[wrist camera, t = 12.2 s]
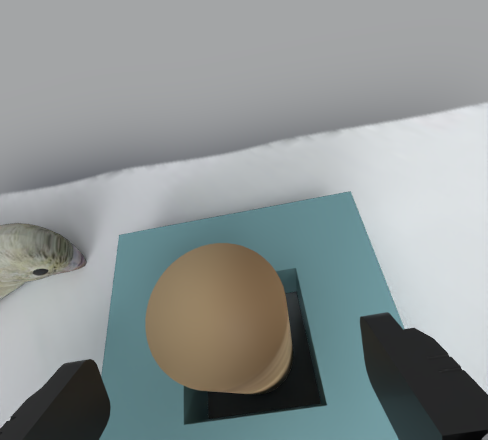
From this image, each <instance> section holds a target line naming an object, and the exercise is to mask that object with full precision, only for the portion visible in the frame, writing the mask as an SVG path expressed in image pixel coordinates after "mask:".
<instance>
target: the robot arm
mask: <svg viewBox="0 0 488 440" xmlns="http://www.w3.org/2000/svg"><path fill="white" fill-rule="evenodd" d="M360 329H361V337H362V345H363V353H364V361H365V367H366V371H367V374H368V377H369V380H370V383H371V385H372V388H373V390H374V392H375V394H376V396H377V398H378V400H379V402H380V403H381V405H382V407H383V409H384V411H385V413H386V415H387V417H388V419H389V421H390V423H391V425H392V427H393V429H394V431H395V433H396V435H397V437H398V439H399V440H488V395H487V394H486V392H485V391H484V390H483V389H482V388H481V387H480V386H479V385H478V384H477V383H476V382H475V381H474V380H473V379H472V378H471V377H470V376H469V375H468V374H467V373H466V372H465V371H464V370H462V369H461V366H460V365H459V364H458V363H457V362H456V361H455V360H454V359H453V358H452V357H449V355H448V353H447V352H446V351H445V350H444V349H443V348H442V347H441V346H440V345H439V344H438V343H437V342H436V341H435V339H433V338H432V337H430V336H428V335H426V334H424V333H423V332H421V331H419V330H417V329H415V328H410V329H403V328H402V327H401V326H400V325H399V324H398V322H397V321H396V320H395V319H394V318H393V317H392V315H391V314H390V313H388V312H385V313H379V314H373V315H367V316H361V317H360ZM110 410H111V406H110V400H109V397H108V394H107V391H106V388H105V386H104V383H103V380H102V378H101V375H100V372H99V369H98V367H97V364H96V363H95V361H94V360H91V359H89V360H82V361H76V362H70V363H65V364H63V365H62V366H61V367H60V368H59V369H58V370H57V371H56V372H55V374H54V375H53V376H52V377H51V378H50V379H49V380H48V382H47V383H46V384H45V385H44V386H43V387H42V388H41V389H40V390H38V391H37V392H36V393H35V394H33V395H32V396H31V397H30V398H28V399H27V400H26V401H25V402H24V403H23V404H22V405H21V406H20V408H19V409H18V410H17V411H16V412H15V413H14V414H13V415H12V416H11V419H10V421H7V422H6V423H5V424H4V425H3V426H2V428H1V429H0V440H99V439H100V437H101V435H102V433H103V431H104V429H105V428H106V426H107V423H108V421H109V417H110Z"/></svg>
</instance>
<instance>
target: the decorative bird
mask: <svg viewBox="0 0 488 440" xmlns="http://www.w3.org/2000/svg"><path fill="white" fill-rule="evenodd" d="M85 265H86V261H85V259H84V257H83V255H82V254H81V252H80V251H79V250H78V249H77V248H76V247H75V246H74V245H73V244H71V243H70V242H69V241H68V240H67V239H66V238H64V237H63V236H61V235H60V234H57V233H55V232H53V231H50V230H48V229H45V228H42V227H39V226H35V225H30V224H21V223H14V224H5V225H0V299H2V298H3V297H5V296H6V295H8V294H9V293H11V292H12V291H14V290H15V289H17V288H18V287H20V286H22V285H23V284H24V283H25V282H27V281H33V280H38V279H42V278H45V277H47V276H50V275H53V274H59V273H64V272H70V271H73V270H76V269H79V268H81V267H83V266H85Z"/></svg>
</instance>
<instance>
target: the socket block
mask: <svg viewBox="0 0 488 440" xmlns="http://www.w3.org/2000/svg"><path fill="white" fill-rule="evenodd" d="M215 243H230V244H237V245H241V246H244V247H246V248H249V249H251V250H253V251H255V252H256V253H258V254H259V255H261V256H262V257H263V258H265V259H266V260H267V261H268V262H269V263H270V264H271V266H272V267H273V268H274V270H275V271H276V273H277V274H278V276H279V278H280V280H281V282H282V285H283V287H284V291H285V293H291V292H297V296H298V300H299V305H300V310H301V314H302V319H303V323H304V328H305V332H306V337H307V342H308V346H309V351H310V355H311V360H312V365H313V369H314V374H315V378H316V383H317V387H318V392H319V397H320V401H321V404H315V405H308V406H300V407H293V408H286V409H278V410H271V411H264V412H256V413H249V414H242V415H234V416H227V417H220V418H212V419H209V414H208V392H207V391H201V390H195V389H191V388H188V387H186V386H183V385H181V384H179V383H177V382H176V381H174V380H173V379H171V378H170V377H169V376H168V375H167V374H166V373H164V371H163V370H162V369H161V368H160V367H159V365H158V364H157V362H156V361H155V359H154V357H153V356H152V353H151V351H150V348H149V345H148V341H147V337H146V329H145V318H146V310H147V306H148V302H149V299H150V296H151V293H152V291H153V289H154V287H155V285H156V283H157V281H158V280H159V278H160V277H161V275H162V274H163V273H164V272H165V270H166V269H167V268H168V267H169V266H170V265H171V264H172V263H173V262H174V261H176V260H177V259H178V258H179V257H181V256H182V255H184V254H185V253H187V252H189V251H191V250H193V249H195V248H198V247H201V246H204V245H208V244H215ZM385 312H388V313H390V314H391V315H392V317H393V318H394V319H395V320H396V321H397V322H398V324H399V325H400V326H401V327H402V328H403V329H404V326H403V324H402V321H401V319H400V316H399V314H398V311H397V309H396V306H395V304H394V301H393V298H392V296H391V293H390V291H389V288H388V286H387V283H386V281H385V278H384V275H383V273H382V270H381V268H380V265H379V263H378V260H377V258H376V255H375V253H374V250H373V247H372V245H371V242H370V240H369V237H368V235H367V232H366V230H365V227H364V224H363V222H362V219H361V217H360V214H359V212H358V209H357V207H356V204H355V202H354V199H353V196H352V194H351V191H350V192H344V193H339V194H334V195H329V196H323V197H318V198H313V199H307V200H302V201H297V202H291V203H286V204H281V205H276V206H270V207H265V208H260V209H254V210H249V211H244V212H239V213H233V214H228V215H223V216H217V217H212V218H207V219H201V220H196V221H191V222H186V223H180V224H175V225H170V226H164V227H159V228H154V229H148V230H143V231H138V232H133V233H127V234H122V235H119V241H118V248H117V256H116V264H115V272H114V280H113V288H112V296H111V304H110V312H109V320H108V328H107V336H106V344H105V352H104V360H103V368H102V376H101V378H102V380H103V383H104V386H105V388H106V391H107V394H108V397H109V400H110V406H111V410H110V417H109V421H108V423H107V426H106V428H105V429H104V431H103V433H102V435H101V437H100V439H99V440H399V439H398V437H397V435H396V433H395V431H394V429H393V427H392V425H391V423H390V421H389V419H388V417H387V415H386V413H385V411H384V409H383V407H382V405H381V403H380V402H379V400H378V398H377V396H376V394H375V392H374V390H373V388H372V385H371V383H370V380H369V377H368V374H367V371H366V367H365V361H364V353H363V345H362V337H361V329H360V317H361V316H367V315H373V314H379V313H385Z"/></svg>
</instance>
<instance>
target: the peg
mask: <svg viewBox="0 0 488 440" xmlns="http://www.w3.org/2000/svg"><path fill="white" fill-rule="evenodd" d="M145 329H146V337H147V341H148V345H149V348H150V351H151V353H152V356H153V357H154V359H155V361H156V362H157V364H158V365H159V367H160V368H161V369H162V370H163V371H164V373H166V374H167V375H168V376H169V377H170V378H171V379H173V380H174V381H176V382H177V383H179V384H181V385H183V386H186V387H188V388H191V389H195V390H201V391H212V392H227V393H241V394H256V395H258V394H265V393H269V392H271V391H273V390H275V389H277V388H278V387H279V386H280V385H281V384H282V383H283V382H284V381H285V380H286V378H287V377H288V375H289V373H290V370H291V367H292V363H293V346H292V339H291V331H290V324H289V316H288V309H287V301H286V295H285V291H284V287H283V285H282V282H281V280H280V278H279V276H278V274H277V273H276V271H275V270H274V268H273V267H272V266H271V264H270V263H269V262H268V261H267V260H266V259H265V258H263V257H262V256H261V255H259V254H258V253H256V252H255V251H253V250H251V249H249V248H246V247H244V246H241V245H237V244H230V243H215V244H208V245H204V246H201V247H198V248H195V249H193V250H191V251H189V252H187V253H185V254H184V255H182V256H181V257H179V258H178V259H177V260H176V261H174V262H173V263H172V264H171V265H170V266H169V267H168V268H167V269H166V270H165V272H164V273H163V274H162V275H161V277H160V278H159V280H158V281H157V283H156V285H155V287H154V289H153V291H152V293H151V296H150V299H149V302H148V306H147V310H146V318H145Z"/></svg>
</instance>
